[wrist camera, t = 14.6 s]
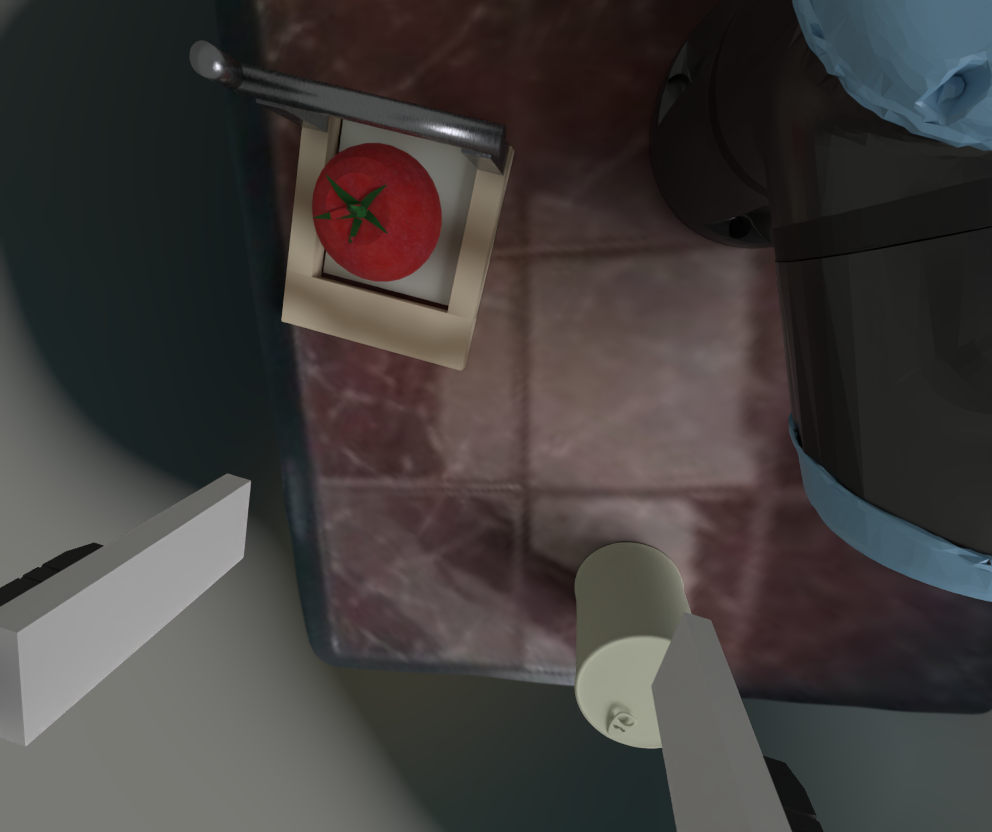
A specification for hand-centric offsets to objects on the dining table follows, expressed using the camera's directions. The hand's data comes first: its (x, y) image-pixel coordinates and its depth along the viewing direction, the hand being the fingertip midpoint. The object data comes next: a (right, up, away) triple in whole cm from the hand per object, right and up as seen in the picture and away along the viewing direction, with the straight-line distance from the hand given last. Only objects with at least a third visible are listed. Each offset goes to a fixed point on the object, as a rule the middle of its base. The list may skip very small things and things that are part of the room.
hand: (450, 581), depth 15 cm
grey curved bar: (-5, +24, +20) cm, 32 cm away
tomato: (-6, +20, +23) cm, 31 cm away
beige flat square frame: (-6, +18, +24) cm, 31 cm away
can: (+13, -10, +29) cm, 34 cm away
